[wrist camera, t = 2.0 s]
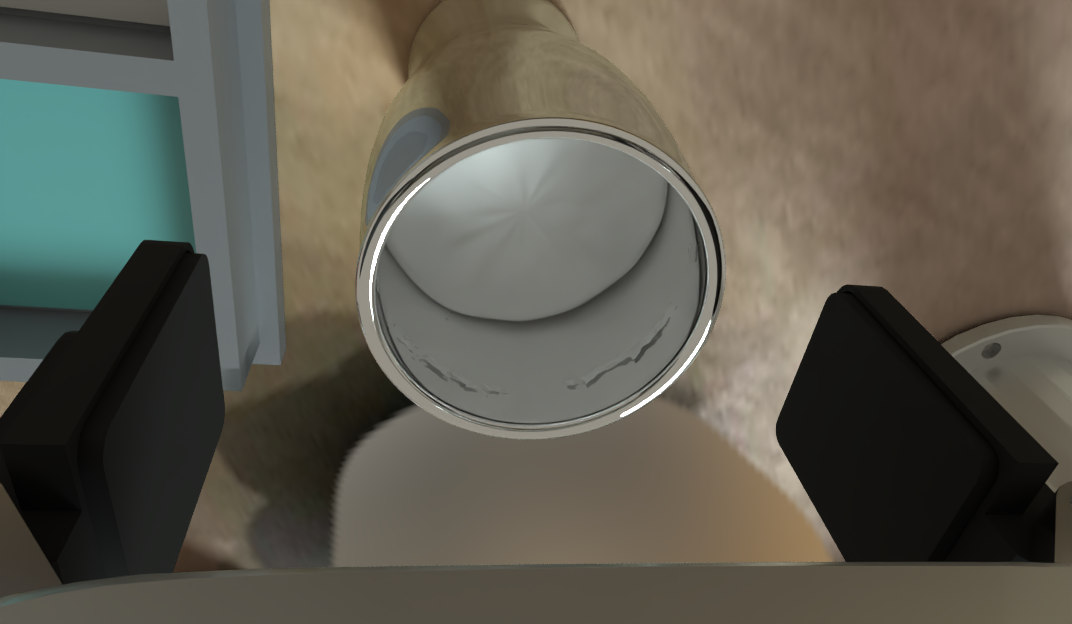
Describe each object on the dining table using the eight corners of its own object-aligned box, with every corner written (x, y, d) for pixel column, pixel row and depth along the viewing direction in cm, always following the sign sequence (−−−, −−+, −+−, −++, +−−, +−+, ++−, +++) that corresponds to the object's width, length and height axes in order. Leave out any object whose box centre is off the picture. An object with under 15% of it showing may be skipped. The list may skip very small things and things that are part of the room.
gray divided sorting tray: (247, -450, 18) (199, -522, 15) (286, 347, 31) (264, 413, 27) (-376, -585, 16) (-608, -705, 13) (-63, 329, 29) (-135, 397, 25)
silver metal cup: (357, 18, 24) (259, 207, 11) (556, -70, 23) (683, 31, 11) (447, 199, 28) (446, 492, 15) (620, 128, 27) (773, 376, 14)
